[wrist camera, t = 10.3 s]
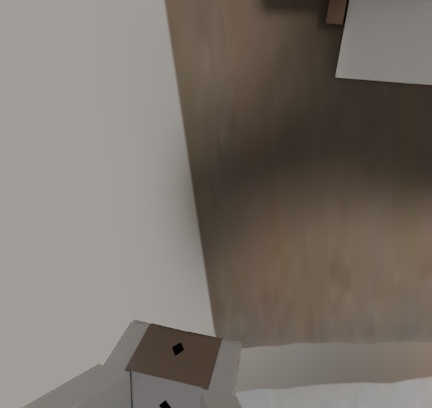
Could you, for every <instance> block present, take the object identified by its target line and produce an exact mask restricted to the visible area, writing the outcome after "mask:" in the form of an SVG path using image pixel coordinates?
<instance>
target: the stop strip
mask: <svg viewBox="0 0 432 408" xmlns="http://www.w3.org/2000/svg"><path fill="white" fill-rule="evenodd" d="M346 2H347V0H329V4H328V10H327V16H326V22H325V24H339V25H342V24H343V18H344V13H345V7H346Z"/></svg>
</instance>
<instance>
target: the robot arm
mask: <svg viewBox="0 0 432 408" xmlns="http://www.w3.org/2000/svg"><path fill="white" fill-rule="evenodd" d="M241 347H242V343H241V342H238V341H233V340H228V339H222V338H217V337H212V336H207V335H202V334H197V333H192V332H186V331H181V330H177V329H173V328H169V327H165V326H161V325H156V324H150V323H146V322H141V321H137V320H134V321H133V322H132V323H130V324H129V326H128V328H127V329H126V331H125V333H124V334H123V336H122V337H121V339H120V340H119V342H118V343H117V345H116V347H115V348H114V350H113V351H112V353H111V355H110V356H109V358H108V359H107V361H106V363H105V364H104V365H99V364H98V365H96V366H94V367H93V368H91V369H89V370H88V371H86V372H84V373H82V374H80V375H79V376H77V377H75V378H73V379H72V380H70V381H68V382H66V383H64V384H63V385H61V386H59V387H57V388H56V389H54V390H52V391H50V392H49V393H47V394H45V395H44V396H42V397H40V398H38V399H36V400H35V401H33V402H31V403H29V404H27V405H26V406H24V407H22V408H241V406H240V403H239V401H238V399H237V397H235V393H236V386H237V379H238V372H239V364H240V355H241Z"/></svg>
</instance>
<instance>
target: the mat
mask: <svg viewBox="0 0 432 408" xmlns="http://www.w3.org/2000/svg"><path fill="white" fill-rule="evenodd" d="M335 77H336V78H348V79H361V80H374V81H386V82H399V83H411V84H424V85H432V0H349V4H348V9H347V15H346V20H345V26H344V31H343V36H342V42H341V47H340V53H339V58H338V64H337V69H336V74H335Z"/></svg>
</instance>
